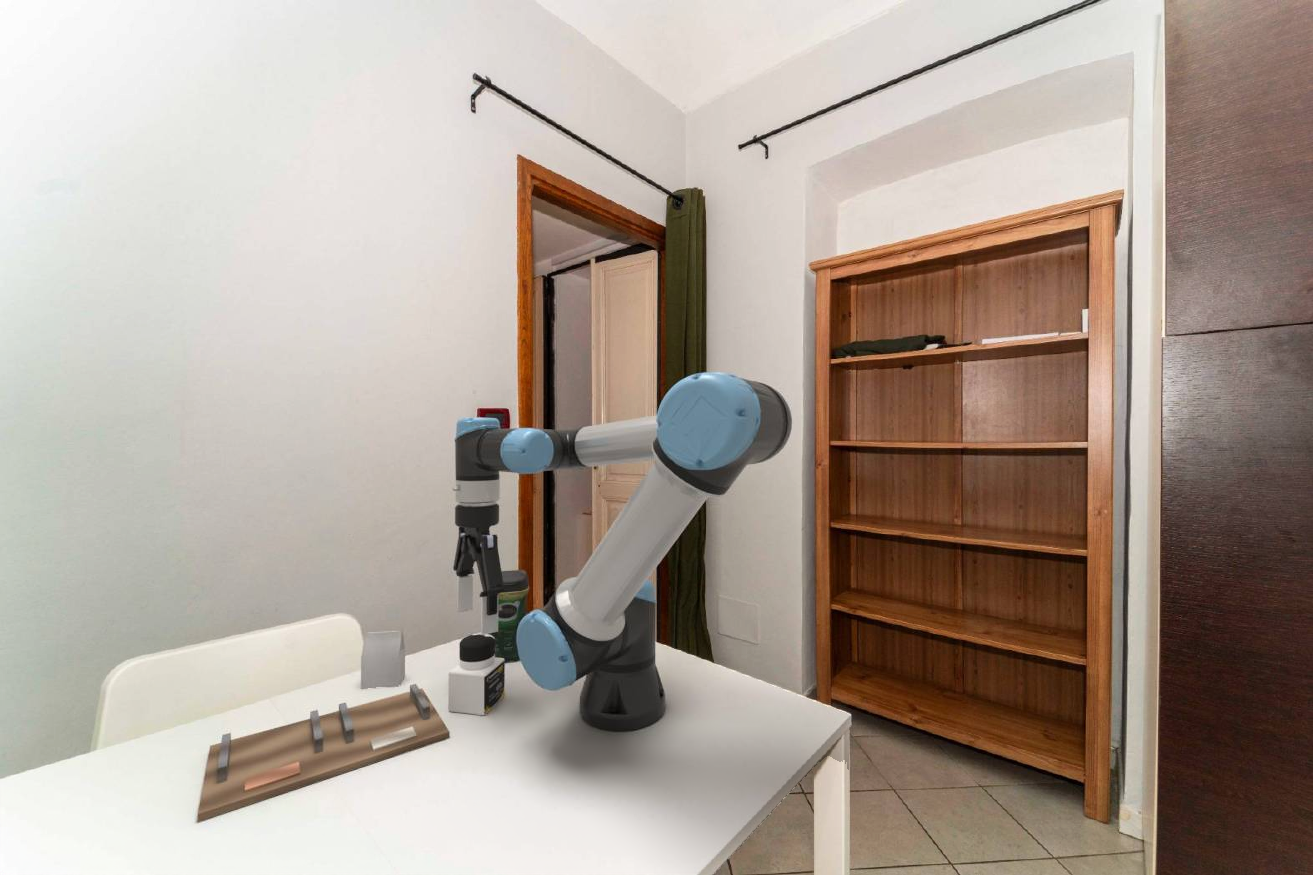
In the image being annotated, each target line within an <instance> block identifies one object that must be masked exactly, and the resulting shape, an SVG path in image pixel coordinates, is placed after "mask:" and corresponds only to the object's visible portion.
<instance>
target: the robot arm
mask: <svg viewBox="0 0 1313 875" xmlns="http://www.w3.org/2000/svg"><path fill="white" fill-rule="evenodd" d="M789 406H790V405H789V404H788V402H787V401H786V399H785V397H784V396H783V395H782V394H781V393H780V392H779V391H777V390H776V389H775V388H773V387H772V386H770V385H768V384H767V383H766V384H765V383H763V382H759V381H756V380H755V381H754V380H751V379H745V378H743V377H738V376H737V375H734V374H731V373H727V372H721V371H720V372H719V371H718V372H717V371H715V372H708V371H707V372H699V373H694V374H691V375H689V376H686V377H685V378H682V379H680V380H678V382H676V383H675V384H674V385H673V386H672V387H671V388H670V389H669V390H668V392H667V393H666V394H665V395H664V397H663V399H662V400H661V402H660V404H659V407H658V410H657V413H656V414H655V415H650V416H643V417H637V418H630V419H624V420H617V421H613V422H607V423H602V424H601V423H600V424H594V425H587V426H583V427H581V426H580V427H575V428H569V429H551V428H550V429H546V428H545V429H544V428H534V427H519V428H501V424H500V423H501V422H500V421H499V419H498V418H495V417H477V416H476V417H467V416H466V417H461V418H459V419H458V420H457V422H456V427H455V428H456V430H455V438H454V443H455V447H454V448H455V450H454V452H455V453H454V457H455V466H454V467H455V485H453V486H452V491H453V492H455V502H456V503H458V504H456V505H455V507H454V524H455V526H457V527H458V538H457V543H456V544H457V545H456V551H455V554H454V556H455V557H454V562H453V567H452V568H453V571H454V572H455V574H456V576H457V580H456V590H457V591H456V612H457V613H465V612H469V611H473V610H474V602H473V601H474V600H473V597H474V592H473V591H474V575H475V570H474V564H475V563H476V566H477V570H478V575H479V579H480V584H481V587H482V588H481V589H482V591H480V593H479V598H480V633H481V634H482V635H485V634H489V633H494V632H498V594H500V593H503V592H504V585H503V578H502V572H501V571H502V567H501V565H502V564H501V559H500V555H499V548H498V547H499V546H498V545H499V544H498V538H499V537H498V535H497V534H491V532H490V528H491V527H493V526H496V525H499V523H500V505H499V504H498V503H497V502H498V501H500V498H501V497H500V496H501V494H500V492H501V488H500V485H501V483H500V482H501V481H500V480H501V479H500V477H501V476H500V472H503V473H514V474H518V475H525V474H526V475H527V474H528V475H532V474H539V473H541V472H546V471H548V472H549V471H558V470H559V471H560V470H562V471H563V470H564V471H565V470H583V469H586V468H593V467H602V466H611V465H622V464H631V463H632V464H633V463H640V462H642V463H643V462H651V461H653V462H652V464H651V466H649V469H648V471H646V474H644V476H643V478H642V480H641V481H640V482H639V484H638V485H637V487H636V488H635V490H634V491H633V493H632V494H631V495H630V497H629V498H628V500H627V502H626V503H625V505H624V507H622V509H621V511H620V512H619V514H618V515H617V517H616V518H615V519H614V521H613V522H612V524H611V525H610V527H609V528H608V530H607V531H606V533H605V534H604V536H603V537H602V539H601V540H600V542H599V544H598V545H597V547H596V548H595V550H594V551H593V552H592V554H591V555H590V557H589V558H588V560H587V562H586V563H585V564H584V566H583V567H582V569H581V570H580V572H579V573H578V575H577V576H574V577H573V576H572V577H569V578H566V579H565V580H563V581H562V582H561V583H560V584H559V585H558V587H557V589H555V591H554V593H553V594H552V596H551V597H550V599H549V600H548V602H547V604H545V606H543V607H542V608H540V609H534V610H531V611H529V613H526V614H527V615H526V616H524V617H523V619H522V620H521V621H520V623H519V626H518V629H517V636H516V642H517V648H518V654H519V658H520V659H519V660H520V663H521V664H522V667H523V670H524V671H525V673H526V674H527V676H528V677H529V678H530V679H531V681H532V682H533V683H534V684H536V685H537V686H538V687H540V688H542V689H544V690H545V689H546V690H547V691H551V692H552V691H553V692H554V691H559V690H562V689H564V688H566V687H570V686H573V684H575V682H577V681H579V680H580V679H582V678H584V677H585V678H584V682H583V686H582V688H581V692H580V693H579V700H578V701H579V707H578V709H579V715H580V716H581V718H582V719H583V721H585V723H587V724H588V725H591V726H592V727H595V728H598V729H601V730H606V731H614V732H621V731H622V732H624V731H625V732H626V731H634V730H639V729H642V728H646V727H648V726H651V725H652V724H654V723H656V722H658V720H659V719H661V718H662V716H664V713H665V711H666V693H665V689H664V686H663V684H662V683H663V682H662V680H661V676H660V673H659V671H658V667H657V665H656V664H657V663H656V618H657V617H656V613H657V612H656V609H657V608H656V606H657V605H656V604H657V599H656V588H655V584H654V583H653V581H651V580H650V576H651V575H652V574H653V572H654V571H655V570H656V569H657V567H658V565H660V564H661V562H662V561H663V559H664V558H665V556H666V555H667V554H668V552H669V551H670V549H671V548H672V546H673V545H674V544H675V542H676V541H677V540H678V539H679V537H680V536H681V534H682V533H683V532H684V530H685V529H686V528H687V526H688V525H689V524H690V522H691V521H692V520H693V518H694V517H695V515H696V514H697V513H698V512H699V510H700V509H701V507H702V506H703V504H705V502H706V501H707V499H708V498H719V497H722V496H724V495H725V494H726V493H727V492H728V491H729V489H730V488H731V487H732V485H734V483H735V481H736V480H737V478H739V476H740V475H741V473H742V472H743V471H744V469H746V467H747V466H748V465H755V464H760V463H764V462H767V461H769V460H771V459H772V458H774V457H775V456H776V455H778V454H780V452H781V451H782V450H783V449H784V448H785V446H786V445H787V443H788V441H789V438H790V435H791V433H792V429H793V428H792V427H793V418H792V411H791V409H790V407H789ZM492 586H494V587H492Z"/></svg>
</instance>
